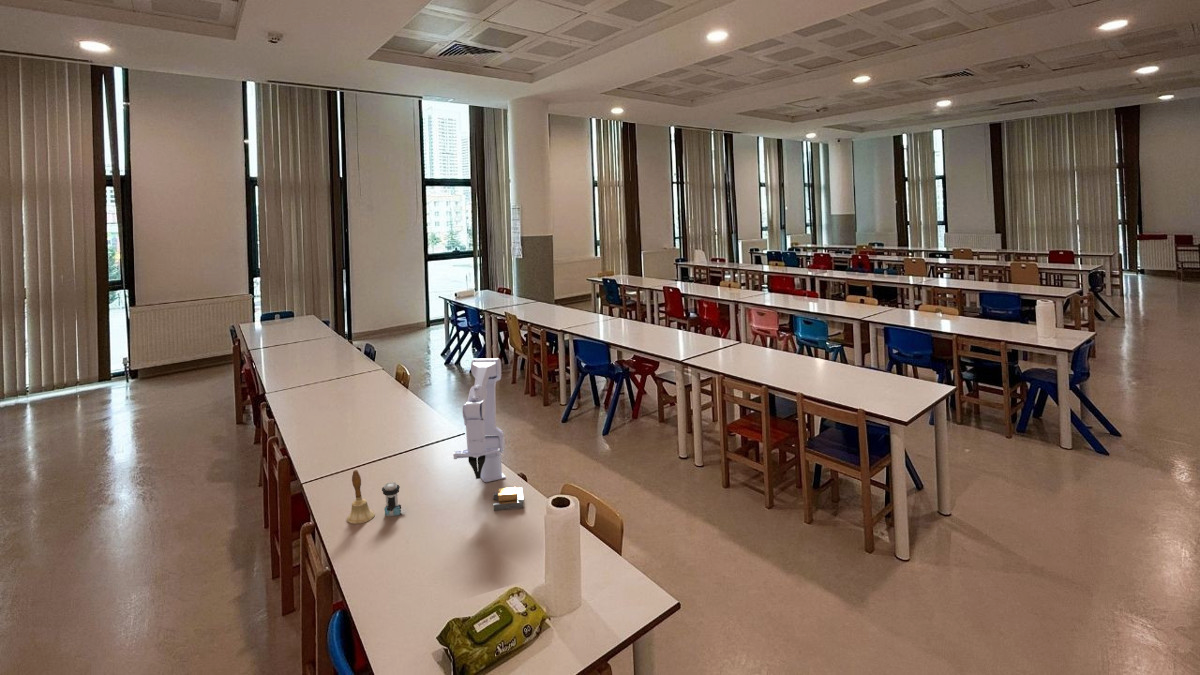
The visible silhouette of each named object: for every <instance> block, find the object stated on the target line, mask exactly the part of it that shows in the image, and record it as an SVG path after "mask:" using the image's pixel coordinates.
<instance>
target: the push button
mask: <svg viewBox="0 0 1200 675" xmlns="http://www.w3.org/2000/svg"><path fill="white" fill-rule="evenodd" d="M381 491H382V494H383V495H384V496H385V506H384V515H385V516H390V517H393V516H399V515H401V514H406V508H402V505H401V504H400V503H399V501H398V500H399V498H398V493H399V492H400V484H399V485H398V484H397V483H396V482H388V483H386V484H384V486H383V487H381Z"/></svg>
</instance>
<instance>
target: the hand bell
mask: <svg viewBox="0 0 1200 675" xmlns="http://www.w3.org/2000/svg"><path fill="white" fill-rule="evenodd" d="M351 482H352V486H353V488H354V492H355V494H354V495H355V500H354V501H352V502H351V510H350V513H349V515H348V516H347V518H346V522H348V523H349V524H351V525H352V524H353V525H361V524H364V523H367V522H369V521H371V520H373V519H374V517H375V513H374V511H373V510H371V509H370V508H369V505H368V500H367V499H365V498H363V497H362V493H361V492H362V491H361V486H362V478H361V475H360V473H359V471H358V469H354V470H353V471H352V476H351Z"/></svg>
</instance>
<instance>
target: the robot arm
mask: <svg viewBox="0 0 1200 675" xmlns="http://www.w3.org/2000/svg"><path fill="white" fill-rule="evenodd" d="M470 371H471V375H472V376H473V378H474V385H472V386H471V387H470V389H469V392H468V397H467V400H466V402H465V403H463V405H462V418H463V423H464V426H465V432H466V433H465V434H466V447H467V449H462V450H457V451H453V454H452V455H453V460H458V459H466V458H468V464H469V465H470V466H471V468H472V471H473V472H474V475H475V480H479V479H481V480H482V481H483V482H484V483H489V482H492V481H497V480H503V479H506V478H507V477H506V475H505V474H504V473H503V470H502V469H503V468H502V453H504V451H505V445H506V443H505V440H506V439H505V433H504V430H502V429H501V428H500V427H498V426H497V406H496V405H497V404H496V403H497V401H496V400H497V399H496V398H497V397H496V395H497V394H496V393H497V392H496V385H497V382H499V381H500V380H501V379H502V361H501V358H499V357H496V358H492V357H491V358H476V357H475V358H473V359H472V360H471V363H470Z"/></svg>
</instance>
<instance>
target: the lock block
mask: <svg viewBox="0 0 1200 675" xmlns="http://www.w3.org/2000/svg"><path fill="white" fill-rule="evenodd" d="M497 493H498V498H499V500H498V503H502V502H513V501H518V498H517V487H516V486H514V487H504V488H497Z"/></svg>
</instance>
